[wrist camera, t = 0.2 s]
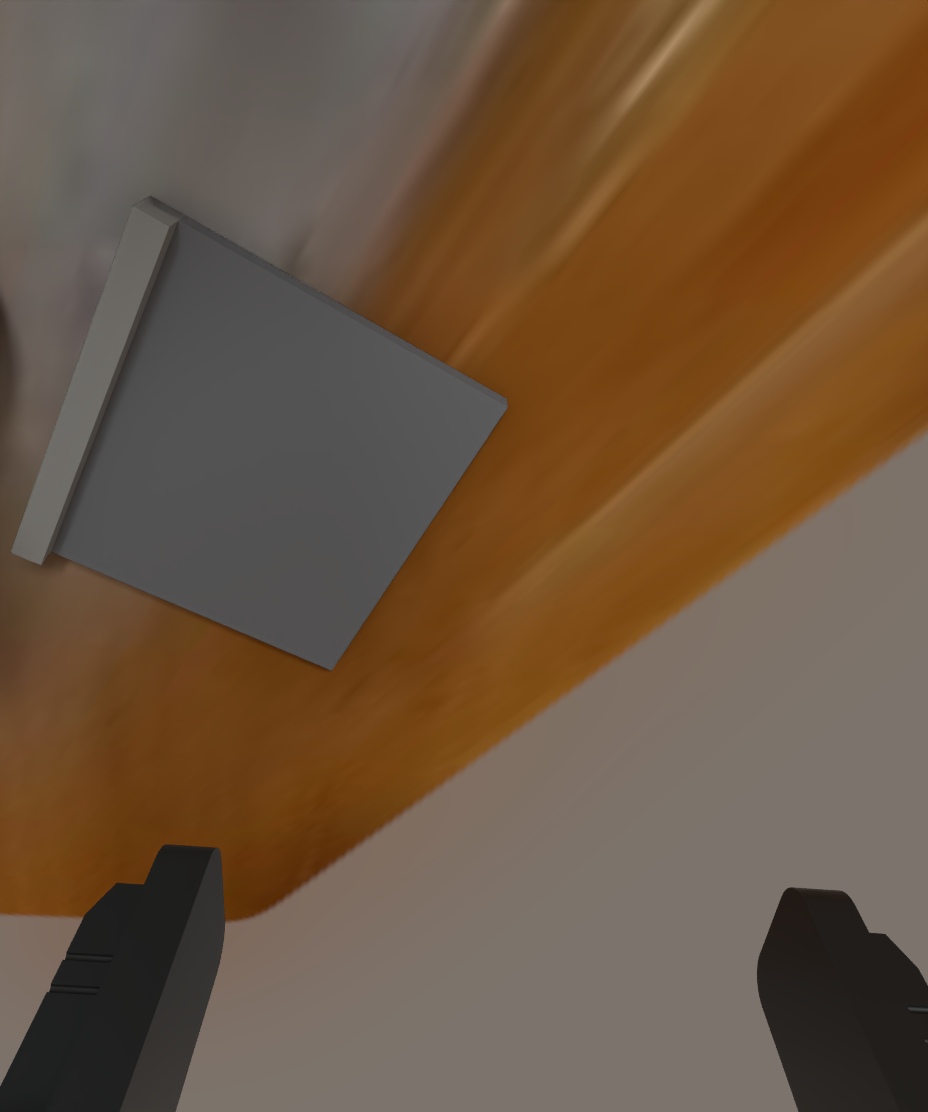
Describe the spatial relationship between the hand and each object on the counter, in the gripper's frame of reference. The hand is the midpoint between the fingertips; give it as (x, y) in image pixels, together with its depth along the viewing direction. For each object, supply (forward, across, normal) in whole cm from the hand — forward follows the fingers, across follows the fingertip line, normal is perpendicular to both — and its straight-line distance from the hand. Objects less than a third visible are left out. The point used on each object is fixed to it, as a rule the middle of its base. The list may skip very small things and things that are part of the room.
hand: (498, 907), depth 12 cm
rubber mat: (+22, +8, +2) cm, 24 cm away
